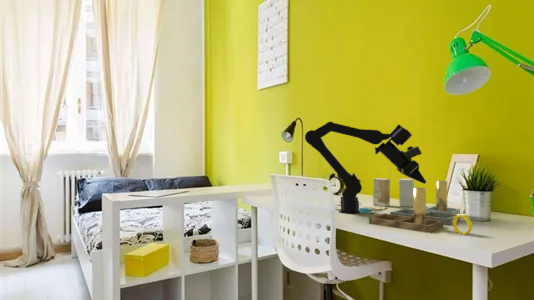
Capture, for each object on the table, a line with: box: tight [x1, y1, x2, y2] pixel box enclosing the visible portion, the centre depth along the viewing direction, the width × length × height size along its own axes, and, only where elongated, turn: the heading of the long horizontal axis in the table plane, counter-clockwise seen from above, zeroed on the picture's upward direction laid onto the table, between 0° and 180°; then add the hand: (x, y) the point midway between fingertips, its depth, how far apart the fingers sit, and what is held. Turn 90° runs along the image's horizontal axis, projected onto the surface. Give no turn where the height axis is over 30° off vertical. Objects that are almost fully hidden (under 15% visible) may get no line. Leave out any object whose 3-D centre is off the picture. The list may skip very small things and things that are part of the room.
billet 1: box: [412, 186, 427, 225], centre depth 124 cm, size 4×4×13 cm
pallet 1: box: [368, 213, 444, 233], centre depth 128 cm, size 21×11×2 cm, turn 44°
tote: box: [426, 205, 461, 215], centre depth 147 cm, size 11×11×2 cm
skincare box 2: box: [398, 178, 415, 208], centre depth 168 cm, size 6×4×12 cm
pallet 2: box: [389, 208, 461, 226], centre depth 138 cm, size 21×11×2 cm, turn 44°
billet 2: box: [435, 180, 448, 212], centre depth 147 cm, size 4×4×13 cm
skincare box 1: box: [372, 177, 391, 208], centre depth 170 cm, size 6×4×12 cm
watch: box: [452, 213, 473, 235], centre depth 115 cm, size 6×3×6 cm, turn 20°
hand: (423, 181), depth 148 cm, fingers open, 9 cm apart
